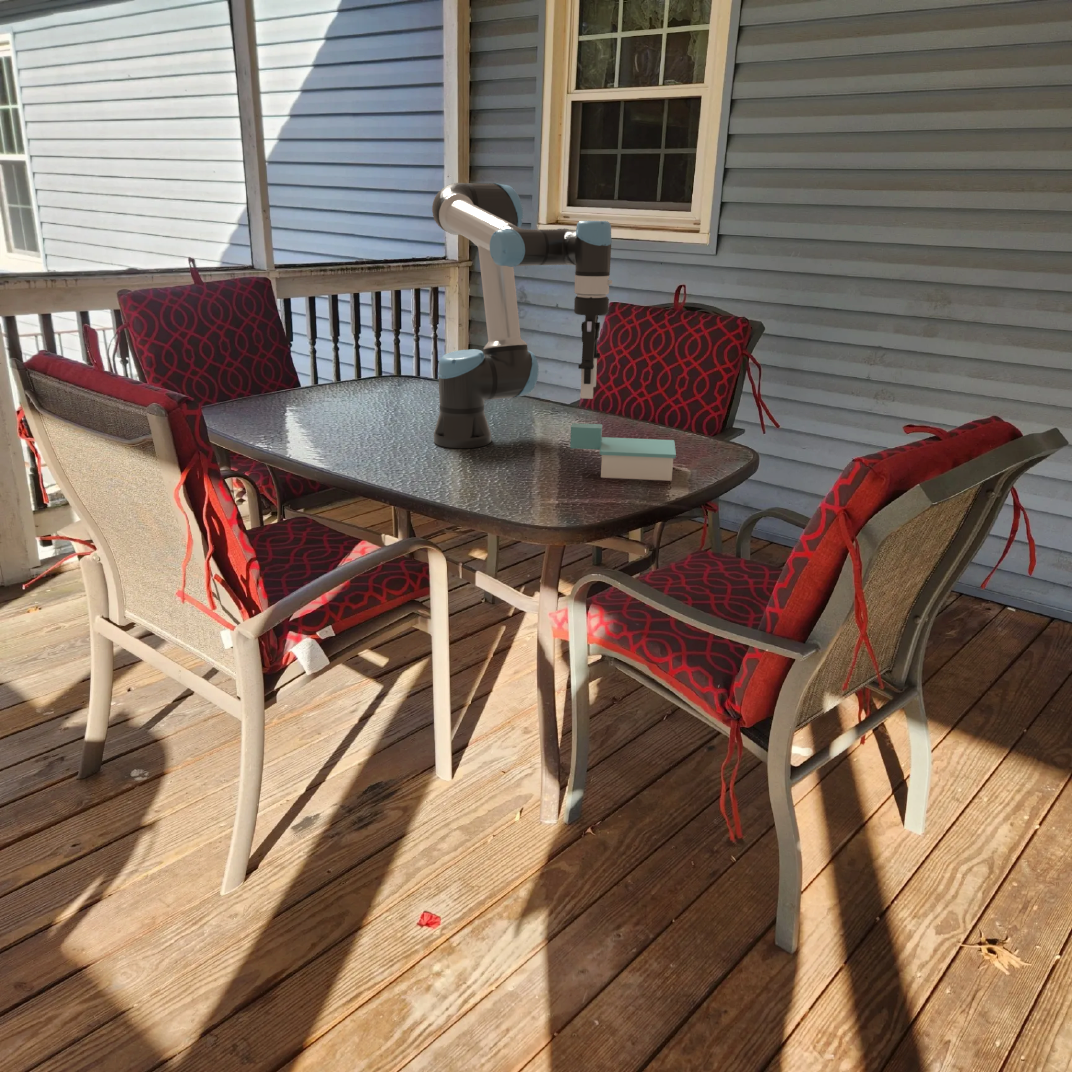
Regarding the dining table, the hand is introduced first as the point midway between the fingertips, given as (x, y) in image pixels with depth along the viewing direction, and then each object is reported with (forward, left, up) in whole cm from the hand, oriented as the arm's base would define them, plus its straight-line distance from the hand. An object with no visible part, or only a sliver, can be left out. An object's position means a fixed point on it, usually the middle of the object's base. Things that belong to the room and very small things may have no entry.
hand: (588, 392), depth 194 cm
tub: (+12, 0, -19) cm, 22 cm away
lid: (+8, 0, -13) cm, 15 cm away
